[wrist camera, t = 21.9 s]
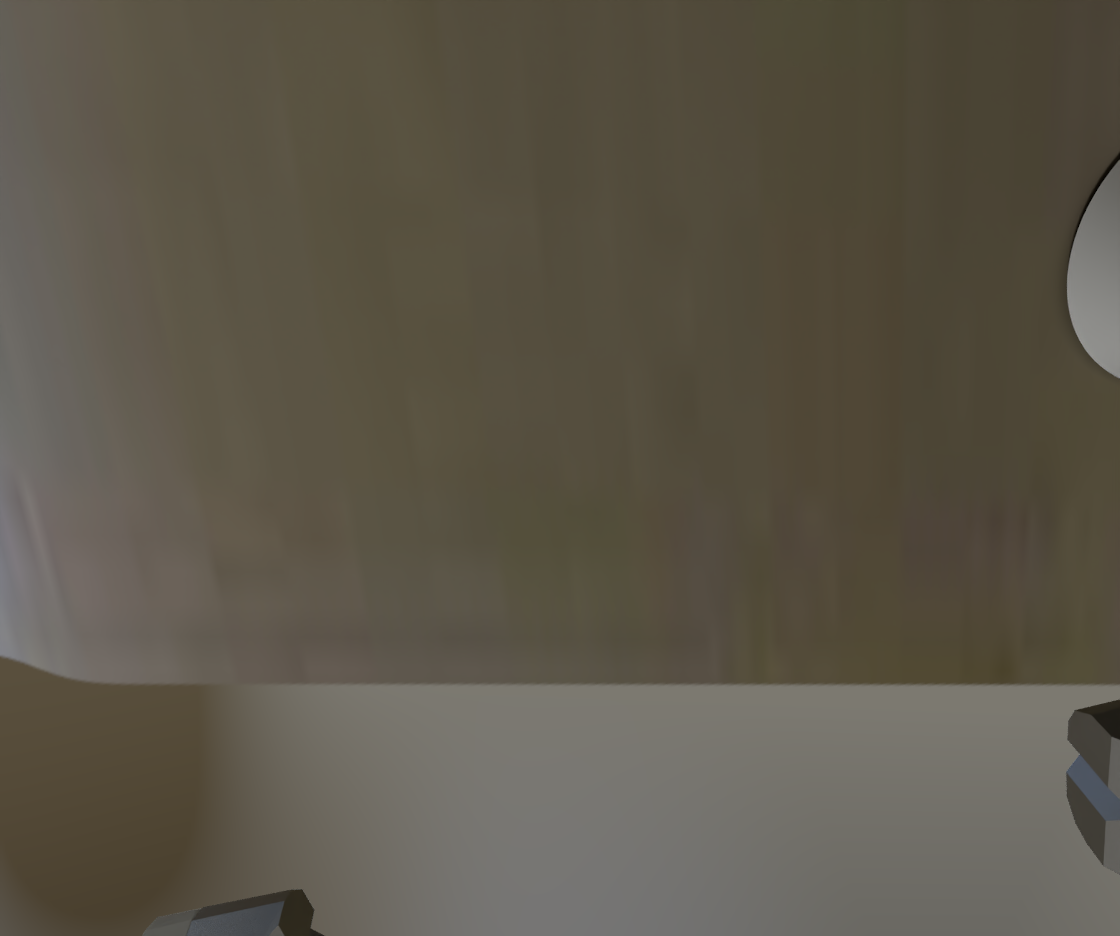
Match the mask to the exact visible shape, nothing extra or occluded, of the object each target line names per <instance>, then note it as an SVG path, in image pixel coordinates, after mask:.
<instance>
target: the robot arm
mask: <svg viewBox="0 0 1120 936" xmlns="http://www.w3.org/2000/svg"><path fill="white" fill-rule="evenodd" d="M1067 298H1068V306H1069V312H1070V316H1071V320H1072V324H1073V326H1074V329H1075V332H1076V334H1077V336H1078V338H1079V340H1080V342H1081V344H1082V345H1083V347H1084V348H1085V350H1086V351H1087V352H1088V354H1089V355H1090V356H1091V357H1092V358H1093V360H1094V361H1095V362H1097V363H1098V364H1099V365H1100V366H1101V367H1102V368H1104V369H1105V370H1106V371H1108V372H1109V373H1111V374H1113V375H1114V376H1116V377H1118V378H1120V160H1119V161H1118V162H1117V163H1116V165H1115V166H1114V167H1113V168H1112V170H1111V171H1110V172H1109V174H1108V175H1107V176H1106V178H1105V179H1104V181H1103V182H1102V183H1101V185H1100V187H1099V188H1098V190H1097V191H1096V193H1095V195H1094V196H1093V198H1092V200H1091V202H1090V204H1089V206H1088V207H1087V210H1086V212H1085V214H1084V216H1083V218H1082V221H1081V223H1080V225H1079V228H1078V231H1077V234H1076V237H1075V240H1074V243H1073V247H1072V251H1071V255H1070V260H1069V267H1068V276H1067ZM1067 739H1068V741H1069V742H1070V743H1071V744H1072V746H1073V747H1074V748H1075V749H1076V750H1077V751H1078V753H1079V754H1080V755H1079V756H1078V758H1077V759H1076V760H1075V761H1074V763H1073V764H1072V765H1071V766H1070V768H1069V769H1068V771H1067V772H1066V780H1067V781H1066V782H1067V799H1068V802H1069V805H1070V808H1071V811H1072V814H1073V817H1074V820H1075V823H1076V825H1077V827H1078V829H1079V830H1080V832H1081V834H1082V836H1083V837H1084V839H1085V841H1086V843H1087V845H1088V846H1089V847H1090V849H1091V850H1092V851H1093V853H1094V854H1095V855H1096V857H1097V858H1098V859H1099V861H1100V862H1101V863H1102V865H1103V866H1105V867H1106V868H1108V869H1110V870H1112V871H1114V872H1116V873H1118V874H1120V700H1116V701H1112V702H1108V703H1104V704H1099V705H1095V706H1091V707H1087V708H1083V709H1078V710H1075V711H1074V713H1073V714H1072V716H1071V717H1070V719H1069V721H1068V738H1067ZM313 914H314V908H313V907H312V905H311V903H310V902H309V900H308V898H307V897H306V895H305V893H304V892H303V890H302V889H298V890H297V889H296V890H287V891H282V892H277V893H272V894H268V895H262V896H258V897H252V898H247V899H242V900H237V901H232V902H227V903H222V904H217V905H212V906H207V907H203V908H201V909H195V910H191V911H186V912H181V913H176V914H171V915H167V916H161V917H157V918H156V919H155V920H154V921H153V922H152V924H151V925H150V926H149V927H148V928H147V929H146V931H145V932H144V934H143V936H324V935H322V934H320V933H318V932H316V931H314V930H312V929H311V924H312V919H313Z"/></svg>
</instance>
